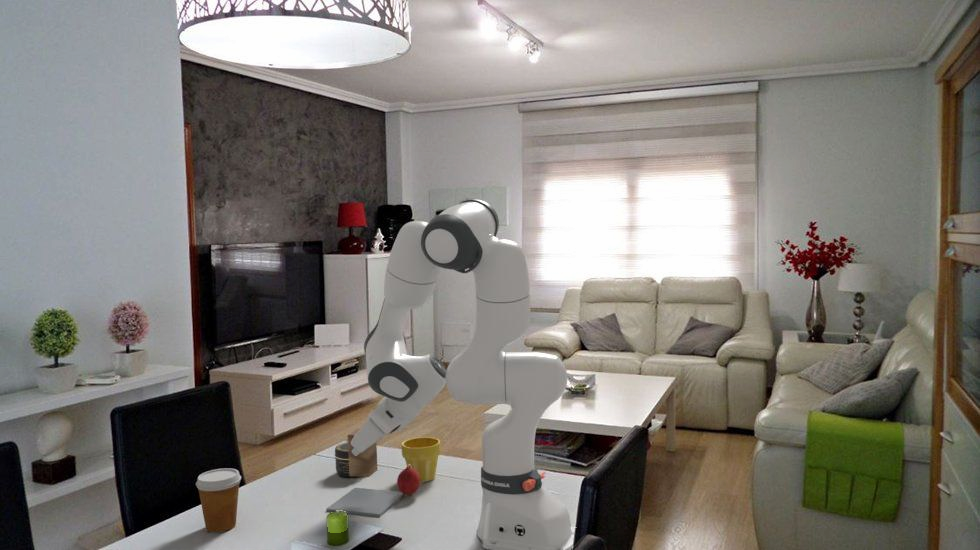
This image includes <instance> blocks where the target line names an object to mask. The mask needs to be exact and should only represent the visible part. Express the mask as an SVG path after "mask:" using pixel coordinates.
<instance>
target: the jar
mask: <svg viewBox="0 0 980 550" xmlns="http://www.w3.org/2000/svg"><path fill="white" fill-rule="evenodd" d="M334 458H335V471H336V474H337V475H338V477H340V478H342V479H350V480H351V479H360V478H361V477H358V476H349V455H348V441H346V442H343V443H339V444H337V445H336V446H335V448H334Z"/></svg>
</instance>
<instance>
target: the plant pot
mask: <svg viewBox="0 0 980 550" xmlns="http://www.w3.org/2000/svg"><path fill="white" fill-rule="evenodd" d="M441 446H442V445H441V440H440V439H439V438H437V437H431V436H420V437H419V436H418V437H412V438H409V439H408V438H407V439H406V440H403V441H402V442H401V455H402V458H403V459H404V460H405V466H407V465H409V464H411V465H412V468H413V469H414V470H416V471H417V472H418V474H419V476H420V480H421V483H425V482H431V481H432V480H435V478H436V474H437V465H438V461H439V460H438V459H439V456H440V454H441V451H442V450H441V448H442V447H441ZM430 480H431V481H430Z"/></svg>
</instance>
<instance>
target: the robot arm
mask: <svg viewBox="0 0 980 550" xmlns="http://www.w3.org/2000/svg"><path fill="white" fill-rule="evenodd" d="M499 223H500V221H499V216H498V213H497V212H496V210H495V208H494V207H493V206H492V205H490V203H488V202H487V201H484V200H481V199H476V198H475V199H468V200H464V201H461V202H458V204H456V205H452V206H448V208H446V209H444V210H443V211H442V212H440V213H439V214H438V215H437V216H435V217H433V218H432V219H431V220H430V221H429V222H426V221H423V220H412V221H409V222H407V223H405V224H403V226H402V227H401V228H400V229H399V231H398V233H397V236H396V238H395V240H394V242H393V245H392V248H391V251H390V253H389V257H388V262H387V264H386V270H385V275H384V281H383V283H384V286H383V293H384V299H383V303H382V305H381V306H382V307H381V310H380V314H379V317H378V320H377V322H376V325H375V326H374V328H372V330H371V331H370V332H369V334H368V335H367V337H366V338H365V341H364V344H363V350H364V355H365V363H366V364H365V365H366V375H367V383H368V385H369V388H371V390H372V391H373V392H374V393H376V394H377V395H381V396H382V397H383V398H382V399H381V400H379V402H378V403H377V405H376V406H375V408H373V409H372V410H371V412H370V413H368V417H369V418H368V419H366V421H365V422H364V423H363V424H362V426H361V427H360V428H358V429H359V431H358V432H357V433H356V435H355V436H354V437H353V439H352V441H351V445H352V446H353V447H354V448H353V450H352V453H353V454H354V455H355V456H357V455H359V454H360V453H362V452H364V451H365V450H366V449H368V448H369V447H370V446H372V445H373V444H375V443H376V444H377V442H378V441H380V440H381V439H382V438H384V437H386V436H389V435H390V434H392V433H394V432H397V431H401V430H405V429H407V428H408V427H409V425H410V424H411V423H412V422H413V421H414V420H415V419H416V418H417V417H418V416H419V415H420V414H421V412H422V410H423V408H424V407H426V406H428V405H430V404H431V402H432V401H433V400H435V398H436V397H437V396H438V395H439V394H440V392H441V391H442V389H443V388H444V387H445V385H446V389H447V391H448V393H449V394H450V396H451V398H453V399H454V400H455V401H457V402H462V403H466V404H472V405H508V406H510V410H509V411H508V413H507V414H505V415H504V416H502V417H500V418H498V419H496V420H494V421H492V422H491V423H489V424H488V425H487V426H486V427H485V429H484V430H483V432H482V435H481V436H482V437H481V443H482V444H481V450H482V453H481V455H482V466H481V468H480V486H481V490H482V502H481V511H480V515H479V516H480V518H479V521H478V526H477V529H476V534H477V537H478V538H479V539H480V540H481V542H482V543H481V544H482V547H483V548H484V549H486V550H571V549H572V546H573V538H574V528H576V527H575V526H573V525H572V524H571V517H570V514H569V513H570V512H569V510H568V507H567V506H566V505H565V504H564V503H563V502H561V501H560V500H559V499H558V498H557V497H555V496H554V494H552V493H551V492H550V491H549V490H548V489H547V488H546V487H545V486H544V485H543V481H542V479H545V477H546V475H545V474H546V471H543V472H542V473H539V471H538V469H537V467H536V465H535V439H536V432H537V428H538V425H539V423H540V420H541V418H542V417H543V415H544V414H545V412H546V411H547V410H548V409H549V407H551V405H552V404H554V403H555V402H557V401H558V400H559V399H560V398H561V397H562V396H563V394H564V392H565V390H566V388H567V386H568V385H567V384H568V372H567V369H566V366H565V364H564V362H563V361H562V359H560V357H559V356H557V355H556V354H552V353H546V352H540V351H503V349H505V348H506V347H507V346H509V345H511V344H512V343H515V342H517V341H518V340H520V339H522V338H523V337H524V336H525V335H526V334H527V332H528V331H529V329H530V326H531V322H532V321H531V319H532V317H531V289H530V288H531V286H530V276H529V269H528V263H527V260H526V256H525V252H524V250H523V248H522V247H521V245H520V244H519V243H517V242H515V241H513V240H510V239H505V238H501V239H500V238H499V237H497V233H498V231H499V227H500V224H499ZM441 268H442V269H445V270H451V271H452V270H453V271H456V272H457V273H461V274H468V273H471V272H472V273H473V276H474V285H475V287H474V288H475V304H476V306H475V309H476V312H475V313H476V315H475V316H476V317H475V329H474V333H473V335H472V338H471V340H470V341H469V344H467V346H466V347H465V348H464V349H463V350H462V351H461V352H460V353H459V354H458V355H456V356H455V357H454V358H452V360H451V361H450V362H449V364H448V365H447V368H446V367H445V366H444V364H443V363H442V361H441V360H440V359H439V358H438V357H437V356H436V355H434V354H432V353H429V354H425V355H419V356H418V355H416V356H415V355H408V351H407V341H406V336H405V333H404V329H405V327H406V323H407V321H408V320H407V319H408V317H409V313H410V310H419V309H420V308H423V307H425V306H426V305H428V303H429V302H430V301H431V298H432V296H433V294H434V292H435V289H436V285H437V282H438V280H439V275H440V272H441V271H440V270H441ZM572 550H573V549H572Z"/></svg>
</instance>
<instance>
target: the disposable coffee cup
mask: <svg viewBox="0 0 980 550" xmlns="http://www.w3.org/2000/svg"><path fill="white" fill-rule="evenodd" d="M196 480H197V481H196V482H195V486H196V488H197V489H198V494H199V499H200V500H199V501H200V503H201V511H202V514H203V521H204V525H205V530H207V531H206V532H208V531H210V532H209V533H211V532H219V533H223V532H222V531H224V532H227V531H226V530H228V531H230V530H232V529H233V527H234V528H235V527H236V526H237V514H238V501H239V490H240V483H241V480H242V475H240V471H239V470H238V469H236V468H231V467H230V468H226V467H225V468H217V469H216V468H215V469H211V470H208V471H205V472H202V473H201V474H199V475H198V477H197V479H196ZM235 525H236V526H235ZM229 529H230V530H229Z"/></svg>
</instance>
